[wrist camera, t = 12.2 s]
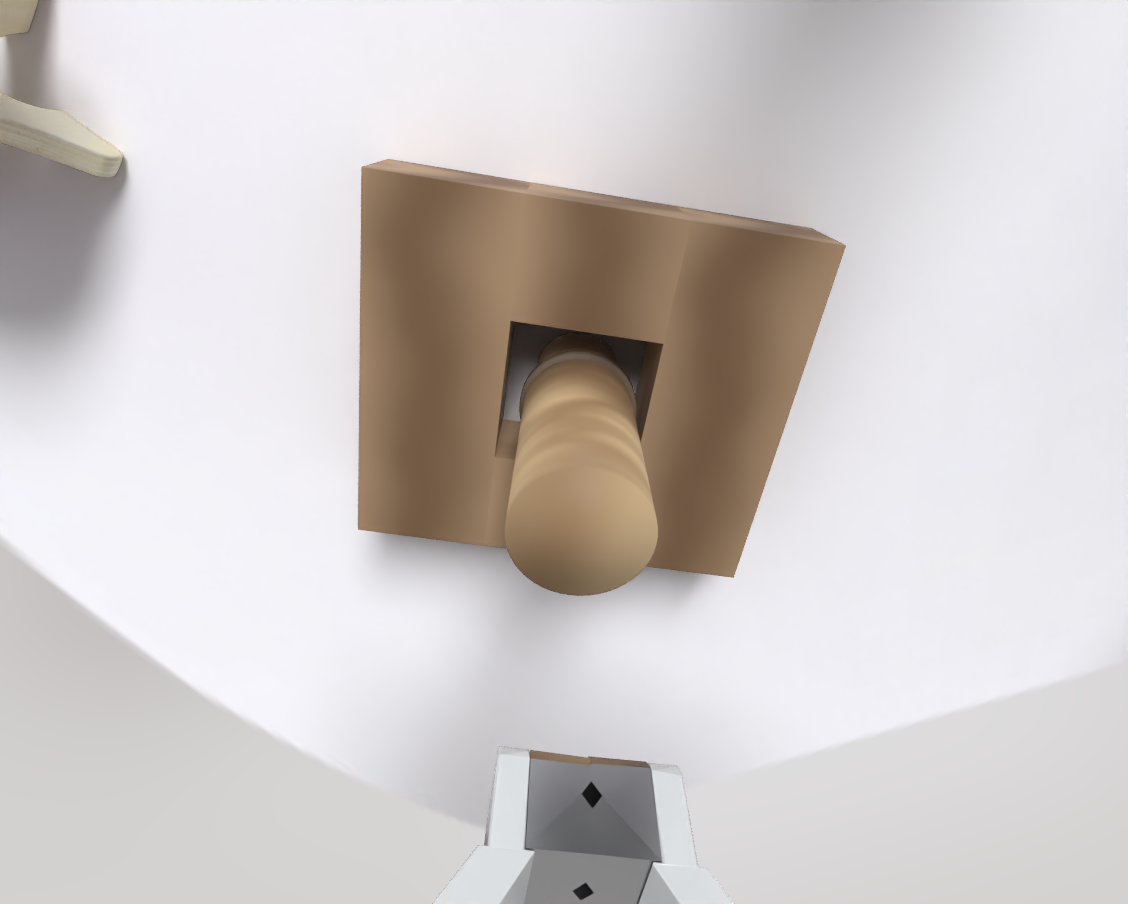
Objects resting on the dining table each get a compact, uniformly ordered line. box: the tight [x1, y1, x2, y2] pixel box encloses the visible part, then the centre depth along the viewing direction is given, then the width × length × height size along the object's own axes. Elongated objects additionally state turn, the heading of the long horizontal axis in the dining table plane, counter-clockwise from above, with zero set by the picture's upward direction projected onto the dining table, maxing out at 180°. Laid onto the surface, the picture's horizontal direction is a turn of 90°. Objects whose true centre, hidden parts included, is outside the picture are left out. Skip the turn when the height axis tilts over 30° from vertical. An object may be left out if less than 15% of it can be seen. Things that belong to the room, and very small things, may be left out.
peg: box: [505, 333, 658, 596], centre depth 23 cm, size 4×4×12 cm
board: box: [358, 159, 846, 578], centre depth 26 cm, size 16×14×4 cm
